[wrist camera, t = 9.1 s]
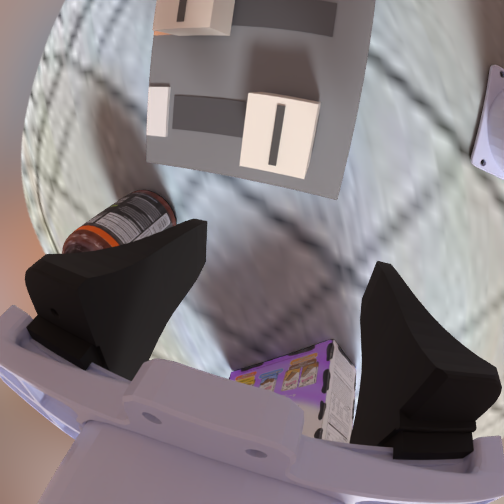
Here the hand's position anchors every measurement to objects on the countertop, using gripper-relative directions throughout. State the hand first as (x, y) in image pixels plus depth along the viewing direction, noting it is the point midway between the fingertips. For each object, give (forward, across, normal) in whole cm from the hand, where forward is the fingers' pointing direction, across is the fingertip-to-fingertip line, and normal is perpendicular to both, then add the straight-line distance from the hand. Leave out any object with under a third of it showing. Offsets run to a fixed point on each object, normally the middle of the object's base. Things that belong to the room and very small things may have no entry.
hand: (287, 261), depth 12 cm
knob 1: (+8, +8, -12) cm, 16 cm away
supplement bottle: (+11, +13, +6) cm, 18 cm away
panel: (+10, +5, -12) cm, 16 cm away
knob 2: (+8, +2, -4) cm, 9 cm away
